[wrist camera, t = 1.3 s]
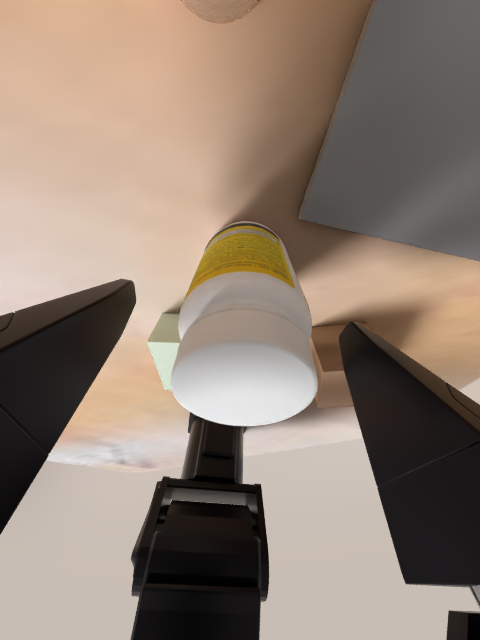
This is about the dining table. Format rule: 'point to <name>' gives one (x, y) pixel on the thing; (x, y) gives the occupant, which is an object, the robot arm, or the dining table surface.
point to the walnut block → (330, 366)
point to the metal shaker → (220, 9)
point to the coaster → (407, 131)
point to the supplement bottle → (244, 333)
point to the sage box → (165, 346)
